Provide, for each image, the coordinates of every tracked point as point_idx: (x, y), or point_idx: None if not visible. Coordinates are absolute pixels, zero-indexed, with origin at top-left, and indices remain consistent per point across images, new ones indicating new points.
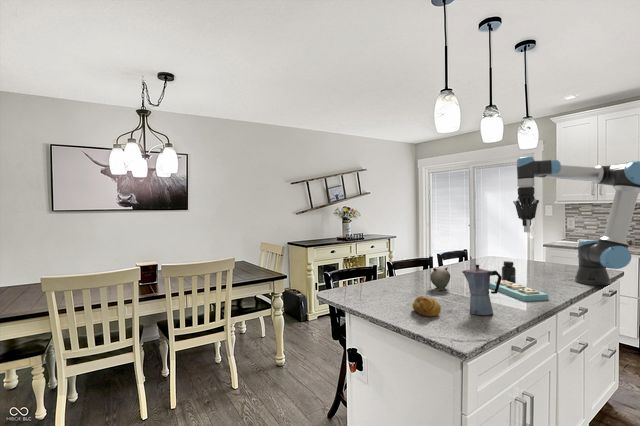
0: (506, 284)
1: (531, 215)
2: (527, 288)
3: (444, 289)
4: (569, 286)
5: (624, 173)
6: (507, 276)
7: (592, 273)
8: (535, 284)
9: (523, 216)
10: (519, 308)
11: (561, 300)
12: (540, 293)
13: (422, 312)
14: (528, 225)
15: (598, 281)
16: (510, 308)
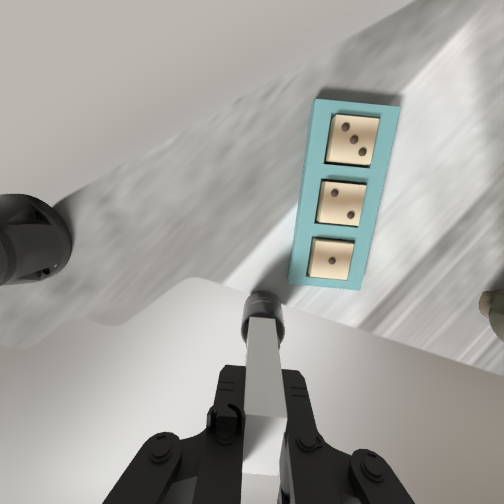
0: (357, 224)
1: (198, 490)
2: (337, 161)
3: (498, 291)
4: (129, 219)
5: None
6: (278, 306)
7: (16, 220)
8: (203, 269)
9: (363, 489)
10: (468, 44)
11: (283, 85)
12: (329, 116)
13: None
14: (267, 358)
15: (30, 201)
16: (492, 53)
